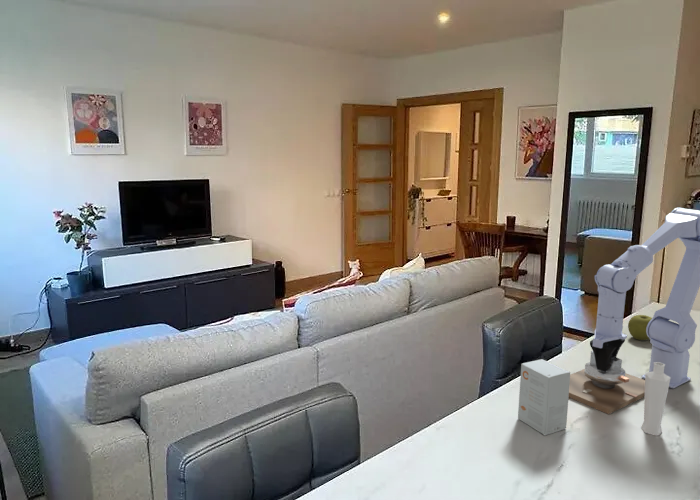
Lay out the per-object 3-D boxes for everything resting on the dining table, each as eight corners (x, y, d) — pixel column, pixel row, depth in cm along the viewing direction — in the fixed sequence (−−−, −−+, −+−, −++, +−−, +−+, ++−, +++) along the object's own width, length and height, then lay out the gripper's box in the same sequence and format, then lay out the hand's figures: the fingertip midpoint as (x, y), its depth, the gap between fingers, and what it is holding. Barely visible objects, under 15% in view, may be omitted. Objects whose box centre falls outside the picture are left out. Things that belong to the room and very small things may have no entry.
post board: (597, 367, 144) (598, 357, 144) (659, 389, 131) (660, 378, 130) (547, 388, 132) (548, 376, 131) (609, 414, 119) (611, 402, 118)
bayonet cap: (576, 372, 133) (578, 351, 132) (602, 366, 137) (604, 346, 136) (612, 390, 123) (614, 368, 122) (640, 383, 127) (642, 362, 126)
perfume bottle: (667, 437, 110) (676, 369, 107) (644, 435, 110) (652, 367, 108) (659, 426, 114) (667, 360, 111) (637, 424, 115) (645, 358, 112)
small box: (566, 429, 113) (571, 371, 110) (544, 436, 110) (549, 377, 108) (538, 412, 120) (542, 358, 118) (516, 418, 117) (520, 363, 115)
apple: (660, 343, 162) (663, 320, 161) (634, 343, 162) (636, 320, 161) (647, 334, 169) (649, 313, 168) (622, 334, 170) (624, 313, 168)
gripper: (617, 325, 120) (611, 381, 123) (637, 311, 130) (632, 363, 133) (585, 318, 125) (580, 372, 127) (607, 305, 135) (602, 355, 138)
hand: (604, 367), depth 130 cm, fingers closed on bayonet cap, 4 cm apart
